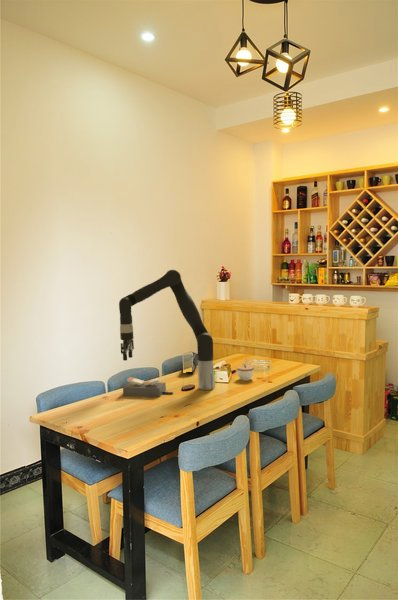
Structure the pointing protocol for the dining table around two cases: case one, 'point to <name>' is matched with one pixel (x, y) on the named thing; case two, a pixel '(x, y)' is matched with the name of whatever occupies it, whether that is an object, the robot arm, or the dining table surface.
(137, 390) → the switch box
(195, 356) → the clear pitcher
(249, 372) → the lidded jar
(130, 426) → the dining table surface
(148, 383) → the rocker inner
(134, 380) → the rocker outer
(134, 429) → the dining table surface
